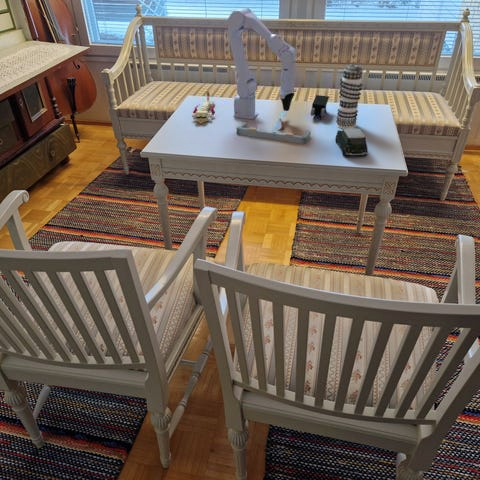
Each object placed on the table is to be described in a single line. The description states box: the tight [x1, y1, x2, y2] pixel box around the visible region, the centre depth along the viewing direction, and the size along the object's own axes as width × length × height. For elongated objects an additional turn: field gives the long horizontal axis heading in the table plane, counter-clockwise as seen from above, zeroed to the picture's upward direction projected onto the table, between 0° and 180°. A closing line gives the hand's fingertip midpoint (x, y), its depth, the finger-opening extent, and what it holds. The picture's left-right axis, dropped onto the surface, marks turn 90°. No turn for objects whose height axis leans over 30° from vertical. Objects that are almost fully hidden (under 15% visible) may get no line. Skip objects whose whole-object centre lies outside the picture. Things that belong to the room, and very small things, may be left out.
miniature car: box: [334, 127, 369, 157], centre depth 163 cm, size 9×18×8 cm, turn 2°
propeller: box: [271, 111, 288, 132], centre depth 183 cm, size 4×25×4 cm, turn 162°
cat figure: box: [191, 91, 216, 124], centre depth 197 cm, size 10×9×25 cm
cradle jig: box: [236, 121, 311, 145], centre depth 177 cm, size 30×8×3 cm, turn 67°
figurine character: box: [310, 94, 330, 121], centre depth 194 cm, size 7×8×15 cm
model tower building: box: [335, 63, 364, 129], centre depth 178 cm, size 9×9×25 cm
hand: (286, 110), depth 187 cm, fingers closed
